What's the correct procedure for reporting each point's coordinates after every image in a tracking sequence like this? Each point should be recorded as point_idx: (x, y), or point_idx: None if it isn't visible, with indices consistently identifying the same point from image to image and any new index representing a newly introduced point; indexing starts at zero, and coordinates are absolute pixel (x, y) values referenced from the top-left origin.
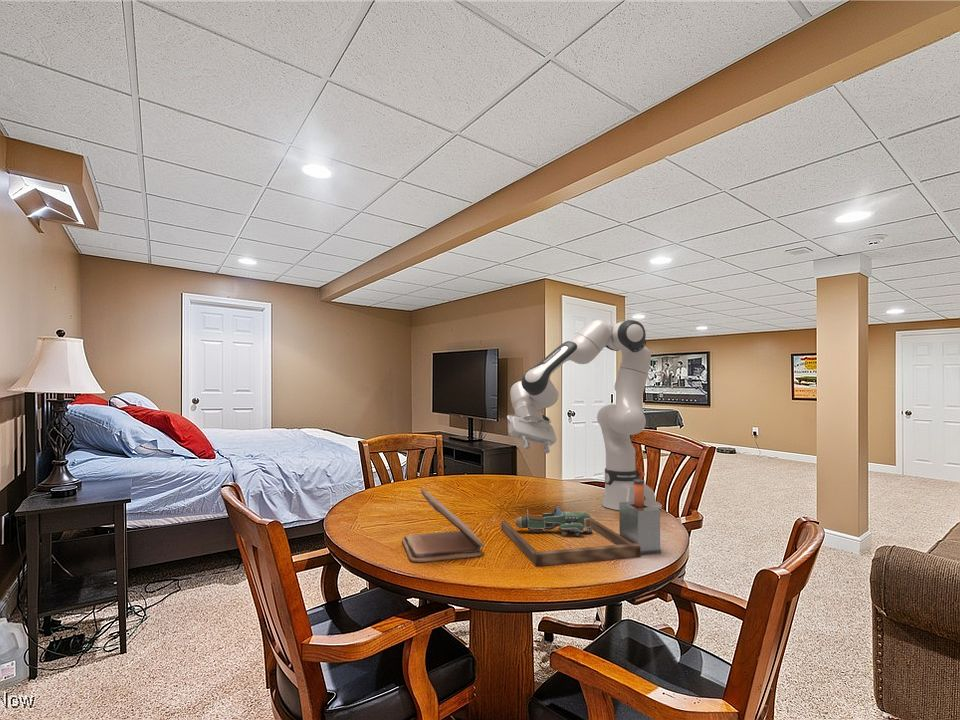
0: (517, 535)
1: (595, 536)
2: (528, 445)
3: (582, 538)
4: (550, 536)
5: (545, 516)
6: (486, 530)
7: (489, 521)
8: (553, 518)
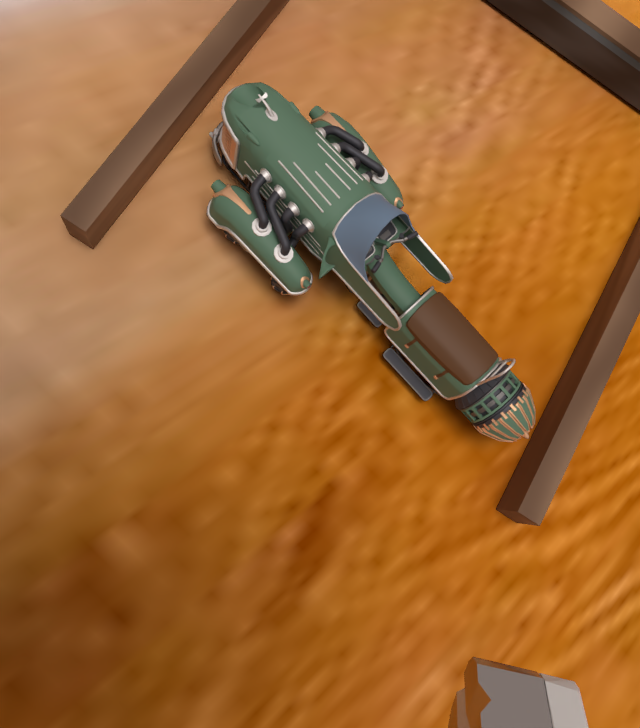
0: (634, 303)
1: None
2: (525, 682)
3: None
4: None
5: (384, 316)
6: (588, 560)
7: None
8: (414, 237)
